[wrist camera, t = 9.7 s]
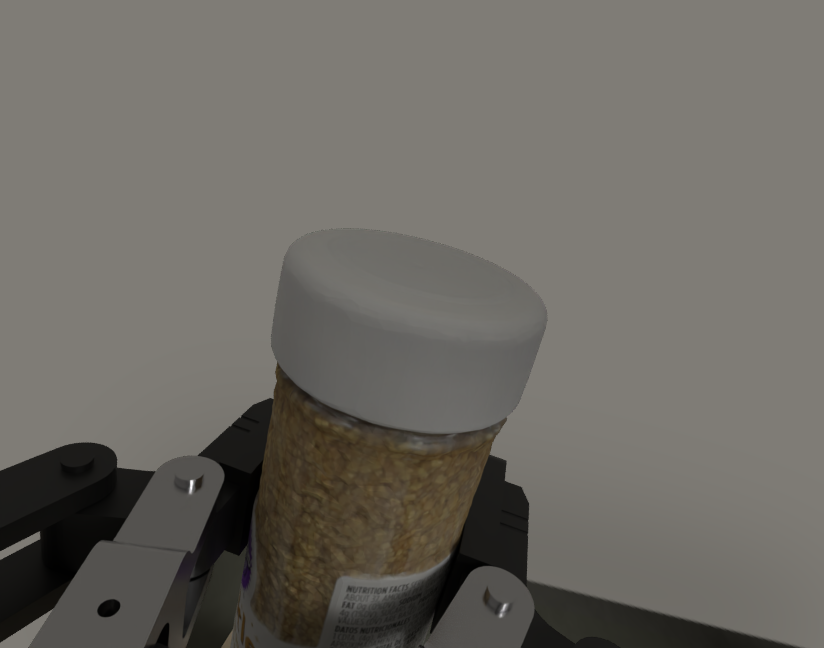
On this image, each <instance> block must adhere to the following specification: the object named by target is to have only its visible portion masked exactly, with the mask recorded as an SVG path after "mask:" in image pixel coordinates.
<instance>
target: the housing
mask: <svg viewBox="0 0 824 648" xmlns="http://www.w3.org/2000/svg"><path fill="white" fill-rule="evenodd" d="M232 633H233V630H232V631H231V633H230V634H229V636H228V638H227V639H226V641H225V642H224V644H223V646H222V647H221V648H230V645H231V639H232Z"/></svg>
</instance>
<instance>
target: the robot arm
mask: <svg viewBox="0 0 824 648" xmlns="http://www.w3.org/2000/svg"><path fill="white" fill-rule="evenodd" d="M273 401H274V399H271V398H269V399H267V400H264V401H262V402H259V403H257V404H254V405H252V407H250V408H249V409H248V410H247V411H246V412H245V413H244V414H243V415H242V416H241V418H238V419H237V420H236V421H235V422H234V423H233V424H232V426H231V427H229V428H227V429H226V430H225V431H224V432H223V433H222V434H221V435H220V436H219V437H218V438H217V439H216V440H214V441H213V442H212V443H211V444H210V445H209V446H208V447H207V448H206V449H205V450H203V451H202V452H201V453H200V454H199V455H198V456H183V457H179V458H175V459H172V460H170V461H168V462H166V463H164V464H163V465H162V466H160V467H159V468H158V469H157V471H154V472H153V471H141V470H132V469H122V468H117V457H116V455H115V453H114V451H113V450H111V449H110V448H108V447H107V446H104V445H101V444H97V443H74V444H69V445H65V446H62V447H60V448H57V449H54V450H52V451H49V452H47V453H44V454H42V455H39V456H36V457H34V458H31V459H29V460H26V461H24V462H22V463H19V464H16V465H14V466H11V467H9V468H6V469H4V470H1V471H0V551H2V550H4V549H6V548H7V547H9V546H11V545H13V544H15V543H17V542H19V541H21V540H23V539H25V538H27V537H29V536H31V535H33V534H35V533H37V532H39V531H40V540H38V541H36V542H34V543H32V544H30V545H28V546H26V547H24V548H23V549H21V550H19V551H17V552H15V553H13V554H11V555H9V556H7V557H5V558H3V559H2V560H0V642H2V641H3V640H5V639H6V638H8V637H9V636H11V635H13V634H14V633H16V632H17V631H19V630H21V629H22V628H24V627H25V626H27V625H28V624H30V623H31V622H33V621H34V620H36V619H38V618H39V617H41V616H42V615H44V614H46V613H47V612H48V611H50V610H52V609H53V608H54V609H53V611H52V612H51V614H50V615H49V617H48V618H47V620H46V621H45V623H44V624H43V626H42V628H41V629H40V631H39V632H38V634H37V635H36V637H35V638H34V640H33V641H32V643H31V644H30V646H29V647H28V648H186V646H187V643H188V640H189V637H190V634H191V632H192V629H193V626H194V623H195V621H196V618H197V615H198V612H199V610H200V607H201V604H202V601H203V598H204V596H205V593H206V590H207V587H208V585H209V582H210V579H211V576H212V573H213V567H214V563H215V561H216V560H217V559H218V558H219V556H220V555H221V554H222V552H223V551H224V550H226V551H228V552H231V553H233V554H236V555H238V556H239V555H240V554H241V552H242V551H243V549H244V548H245V547H246V545H247V544H248V538H249V531H250V525H251V519H252V512H253V505H254V501H255V498H256V495H257V493H258V490H259V487H260V478H261V475H262V465H263V461H264V454H265V448H266V443H267V435H268V430H269V425H270V420H271V415H272V405H273ZM505 472H506V460H503V459H500V458H497V457H495V456H492V455H489V457H488V459H487V462H486V464H485V466H484V469H483V473H482V476H481V480H480V482H479V485H478V487H477V490H476V492H475V494H474V496H473V500H472V504H471V507H470V509H469V512H468V516H467V518H466V521H465V524H464V528H463V533H462V537H461V541H460V544H459V547H458V550H457V552H456V555H455V558H454V561H453V563H452V566H451V569H450V571H449V574H448V577H447V579H446V582H445V585H444V587H443V590H442V593H441V595H440V598H439V601H438V603H437V606H436V609H435V612H434V617H433V621H432V626H431V630H430V633H431V635H430V637H429V639H428V640H427V642H426V643H425V645H424V646H422V645H421V644H420V645H419V646H418V647H417V648H620V647H619V646H617V645H616V644H614V643H612V642H610V641H608V640H605V639H602V638H598V637H586V638H583V639H581V640H579V641H578V642H577V643H576V644H574V643H573V642H572V641H570V640H569V639H567V638H566V637H564V636H563V635H562V634H560V633H559V632H557V631H556V630H555V629H553V628H552V627H551V626H549V625H548V624H547V623H546V622H545V621H544V620H543V619H542V618H541V617H540V615H539V614H538V613H537V611H536V610H535V609H534V602H533V599H532V596H531V594H530V592H529V591H528V589H527V585H526V581H527V549H528V536H527V534H528V518H529V517H528V516H529V503H528V501H527V499H526V496H525V494H524V492H523V490H522V488H521V487H519V486H517V485H514V484H511V483H508V482H506V481H505Z"/></svg>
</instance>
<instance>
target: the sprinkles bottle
mask: <svg viewBox="0 0 824 648" xmlns="http://www.w3.org/2000/svg"><path fill="white" fill-rule="evenodd" d="M546 323H547V310H546V307H545V305H544V303H543V301H542V299H541V298H540V296H539V295H538V294H537V293H536V292H535V291H534V290H533V289H532V288H531V287H530V286H529V285H528V284H527V283H525V282H524V281H523V280H521V279H520V278H519V277H517V276H516V275H514V274H512V273H511V272H509V271H507V270H505V269H503V268H501V267H499V266H498V265H496V264H494V263H492V262H489V261H487V260H484V259H482V258H480V257H478V256H475V255H473V254H470V253H467V252H465V251H462V250H459V249H456V248H453V247H450V246H447V245H444V244H440V243H436V242H433V241H429V240H425V239H421V238H417V237H413V236H408V235H403V234H398V233H392V232H386V231H378V230H368V229H351V228H350V229H349V228H343V229H329V230H321V231H317V232H312V233H309V234H306V235H304V236H302V237H301V238H299V239H297V240H296V241H295V242H294V243H293V244H292V245H291V246H290V247H289V249H288V251H287V253H286V255H285V257H284V261H283V266H282V271H281V276H280V282H279V287H278V293H277V299H276V304H275V313H274V319H273V327H272V334H271V347H272V350H273V353H274V355H275V358H276V360H277V367H276V371H275V373H276V379H277V383H276V386H275V389H274V401H273V405H272V415H271V420H270V425H269V430H268V435H267V443H266V448H265V454H264V461H263V465H262V475H261V478H260V487H259V490H258V493H257V495H256V498H255V501H254V505H253V512H252V519H251V525H250V531H249V538H248V545H247V552H246V558H245V565H244V571H243V575H242V581H241V587H240V593H239V598H238V604H237V609H236V615H235V620H234V626H233V633H232V639H231V645H230V648H417V647H418V646H419V645H420V644H421V645H423V642H424V640H425V637H426V634H427V632H428V629H429V626H430V624H431V621H432V618H433V616H434V612H435V609H436V606H437V603H438V601H439V598H440V595H441V593H442V590H443V587H444V585H445V582H446V579H447V577H448V574H449V571H450V569H451V566H452V563H453V561H454V558H455V555H456V552H457V550H458V547H459V544H460V541H461V537H462V533H463V528H464V524H465V521H466V518H467V516H468V512H469V509H470V507H471V504H472V500H473V496H474V494H475V492H476V490H477V487H478V485H479V482H480V480H481V476H482V473H483V469H484V466H485V464H486V462H487V459H488V457H489V454H490V451H491V446H492V442H493V441H494V439H495V437H496V435H497V434H498V433H499V431H500V430H501V428H502V426H503V425H504V424H505V422H506V420H507V418H506V417H507V416H508V415H509V414H510V413H511V412H512V411H513V410H514V409H515V408H516V406H517V405H518V403H519V401H520V399H521V396H522V394H523V391H524V388H525V386H526V383H527V380H528V378H529V375H530V372H531V369H532V367H533V364H534V361H535V358H536V355H537V352H538V349H539V346H540V343H541V340H542V337H543V334H544V331H545V328H546Z"/></svg>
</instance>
